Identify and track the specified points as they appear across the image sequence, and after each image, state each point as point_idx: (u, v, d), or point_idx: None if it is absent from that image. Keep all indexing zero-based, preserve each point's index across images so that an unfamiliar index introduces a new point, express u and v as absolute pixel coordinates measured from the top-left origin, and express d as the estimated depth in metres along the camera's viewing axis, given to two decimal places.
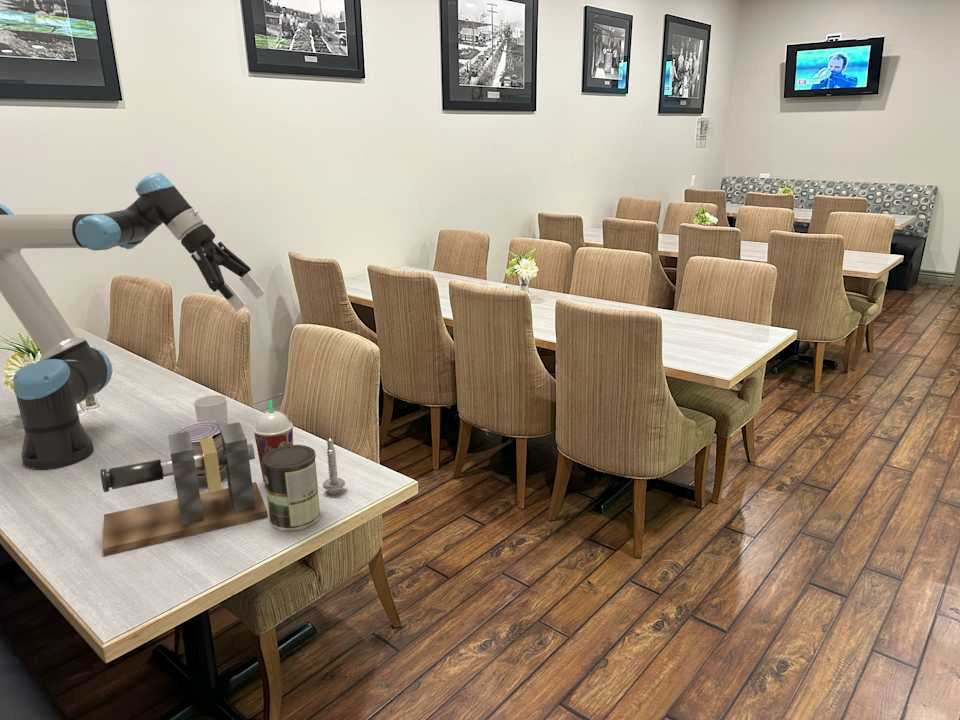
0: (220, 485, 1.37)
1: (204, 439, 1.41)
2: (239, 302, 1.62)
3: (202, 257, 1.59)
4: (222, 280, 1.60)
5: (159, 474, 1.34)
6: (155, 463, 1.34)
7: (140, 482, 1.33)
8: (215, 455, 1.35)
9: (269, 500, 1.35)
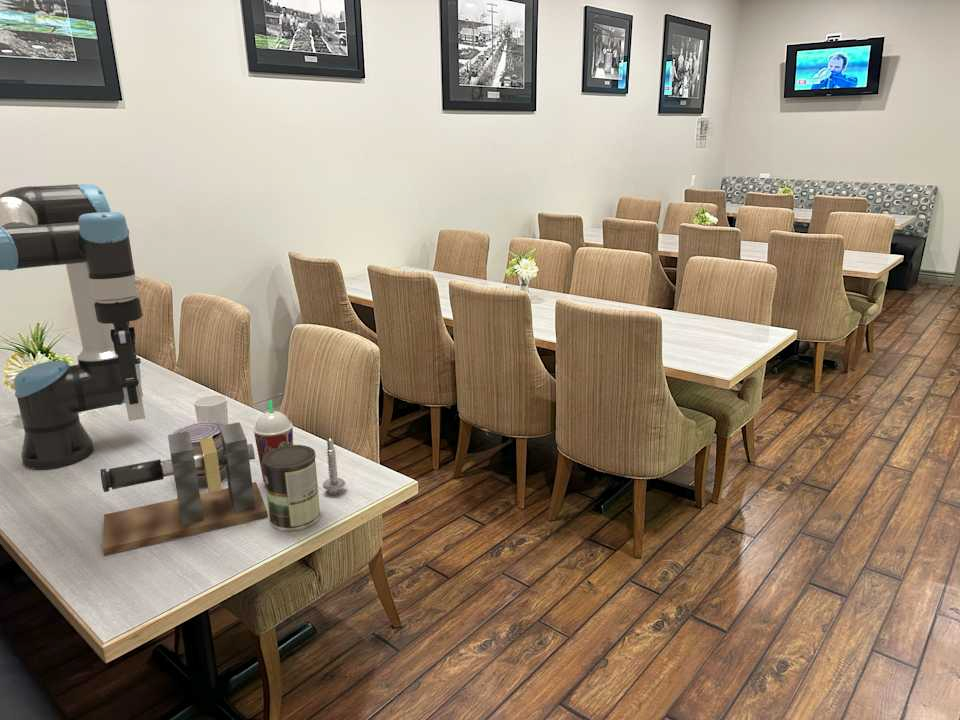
0: (220, 485, 1.37)
1: (204, 439, 1.41)
2: (140, 412, 1.25)
3: (129, 343, 1.21)
4: (137, 380, 1.23)
5: (159, 474, 1.34)
6: (155, 463, 1.34)
7: (140, 482, 1.33)
8: (215, 455, 1.35)
9: (269, 500, 1.35)
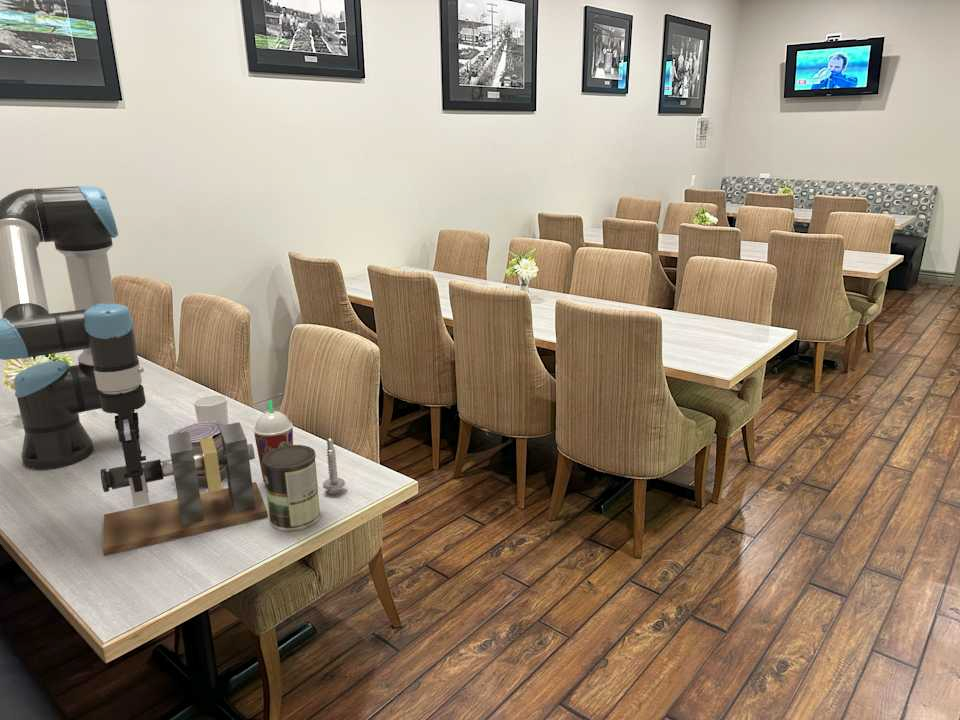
0: (220, 485, 1.37)
1: (204, 439, 1.41)
2: (144, 498, 1.33)
3: (134, 440, 1.26)
4: None
5: (159, 474, 1.34)
6: (155, 463, 1.34)
7: None
8: (215, 455, 1.35)
9: (269, 500, 1.35)
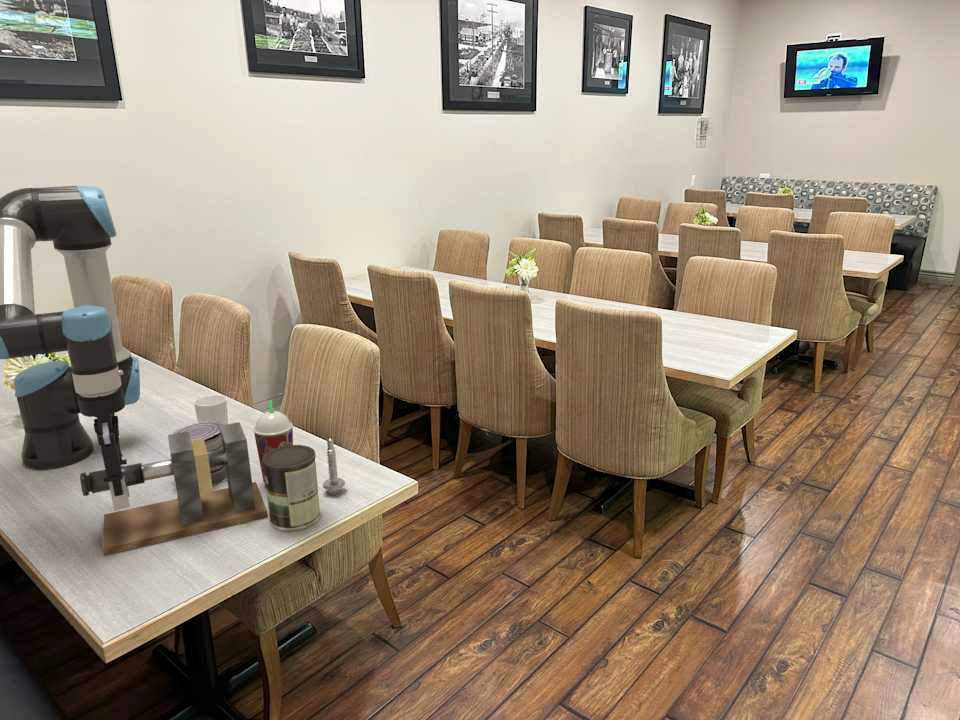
0: (210, 487, 1.36)
1: (195, 441, 1.40)
2: (125, 502, 1.31)
3: (113, 444, 1.25)
4: None
5: (140, 478, 1.32)
6: (136, 467, 1.32)
7: None
8: (206, 457, 1.34)
9: (269, 500, 1.35)
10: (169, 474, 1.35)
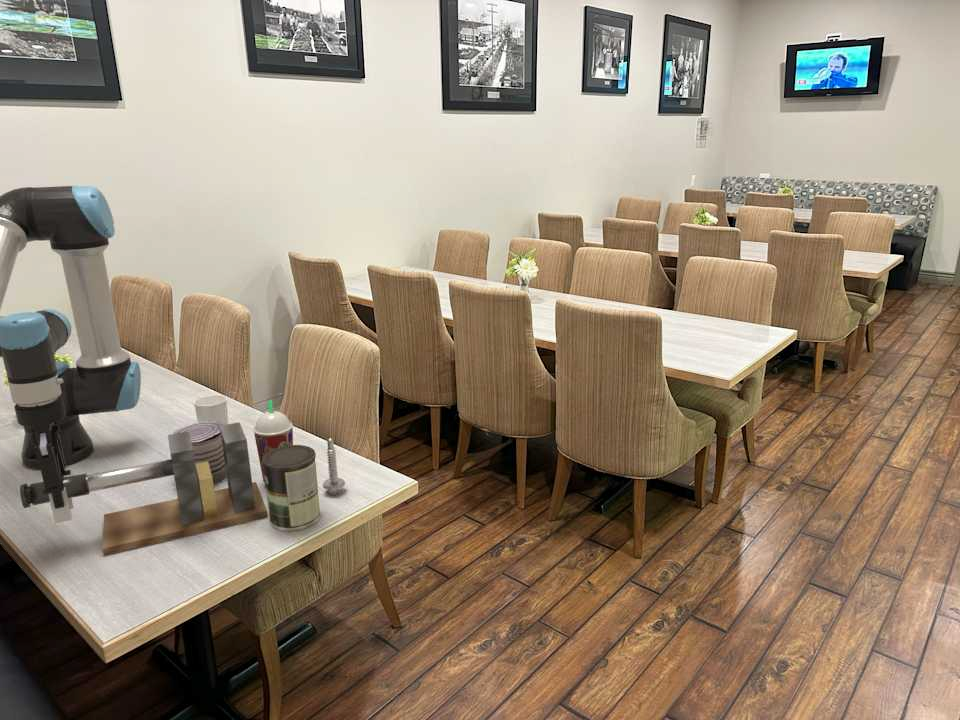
0: (215, 510, 1.38)
1: (200, 464, 1.42)
2: (66, 514, 1.27)
3: (51, 455, 1.20)
4: (62, 484, 1.25)
5: (84, 489, 1.28)
6: (79, 478, 1.28)
7: None
8: (211, 481, 1.36)
9: (269, 500, 1.35)
10: (115, 485, 1.31)
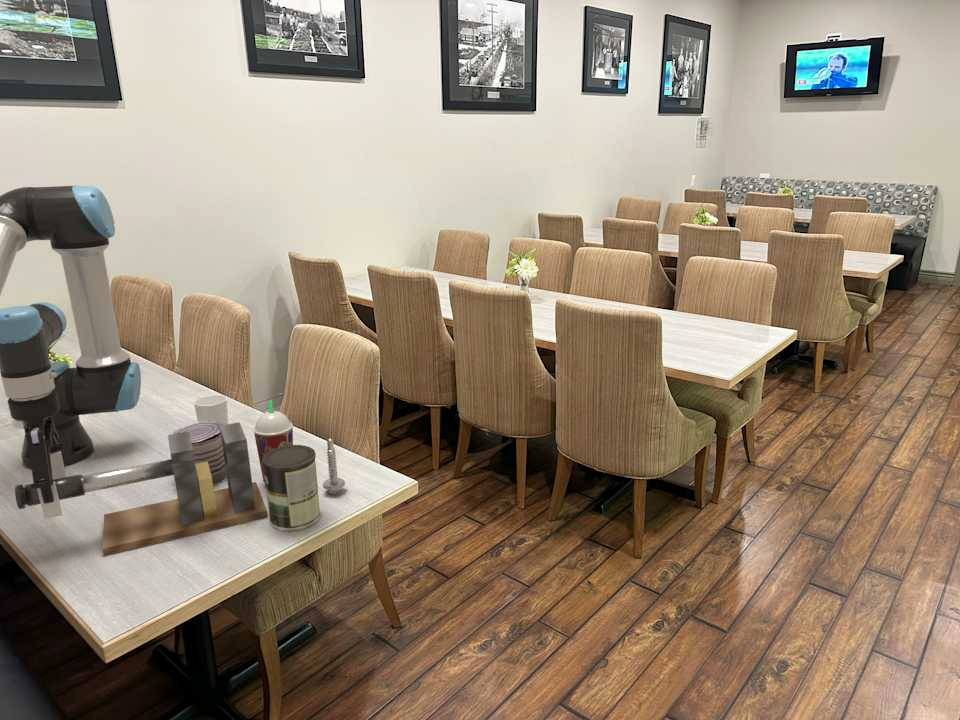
0: (215, 510, 1.38)
1: (199, 464, 1.42)
2: (56, 510, 1.22)
3: (42, 442, 1.18)
4: (52, 479, 1.20)
5: (79, 490, 1.28)
6: (75, 478, 1.28)
7: None
8: (210, 481, 1.36)
9: (269, 500, 1.35)
10: (110, 486, 1.31)
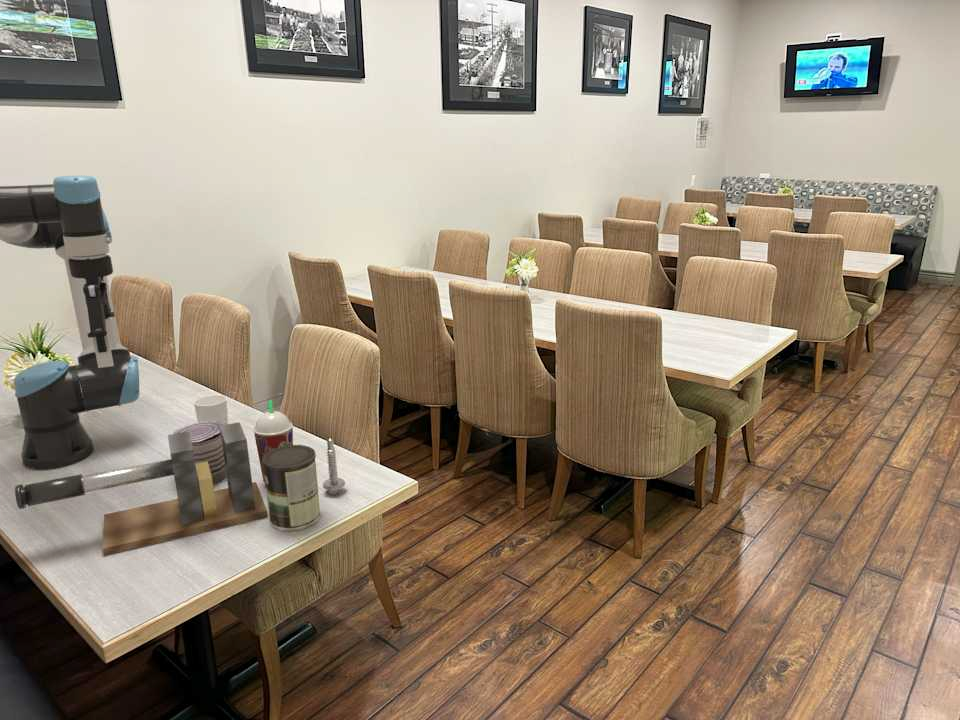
0: (215, 510, 1.38)
1: (199, 464, 1.42)
2: (108, 360, 1.37)
3: (98, 296, 1.33)
4: (106, 330, 1.35)
5: (79, 490, 1.28)
6: (75, 478, 1.28)
7: (58, 498, 1.27)
8: (210, 481, 1.36)
9: (269, 500, 1.35)
10: (110, 486, 1.31)
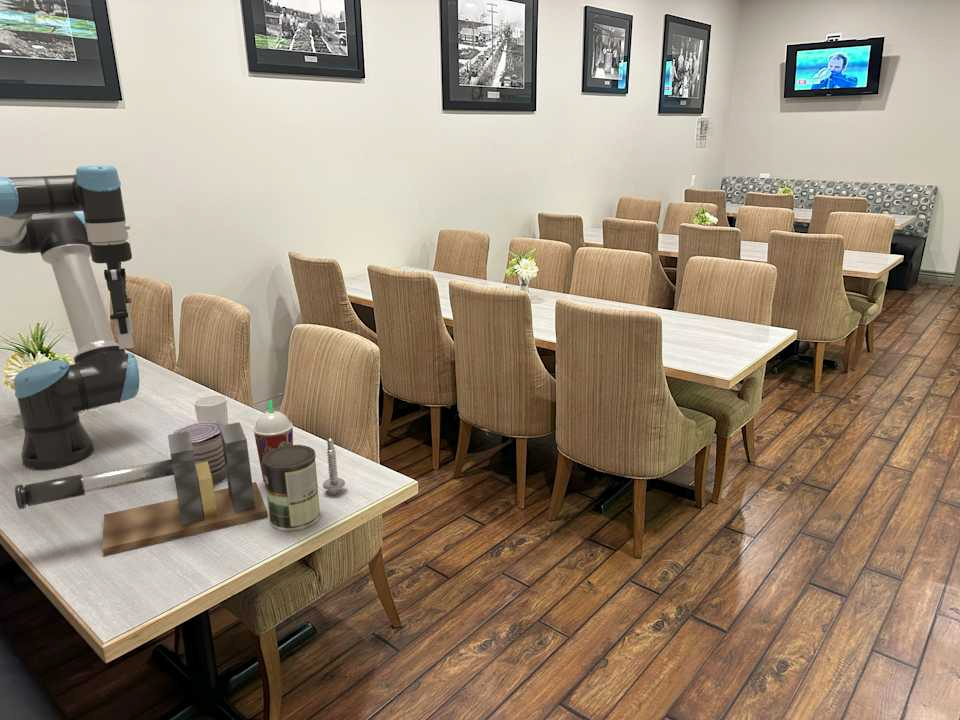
0: (215, 510, 1.38)
1: (199, 464, 1.42)
2: (129, 342, 1.43)
3: (119, 280, 1.39)
4: None
5: (79, 490, 1.28)
6: (75, 478, 1.28)
7: (58, 498, 1.27)
8: (210, 481, 1.36)
9: (269, 500, 1.35)
10: (110, 486, 1.31)
